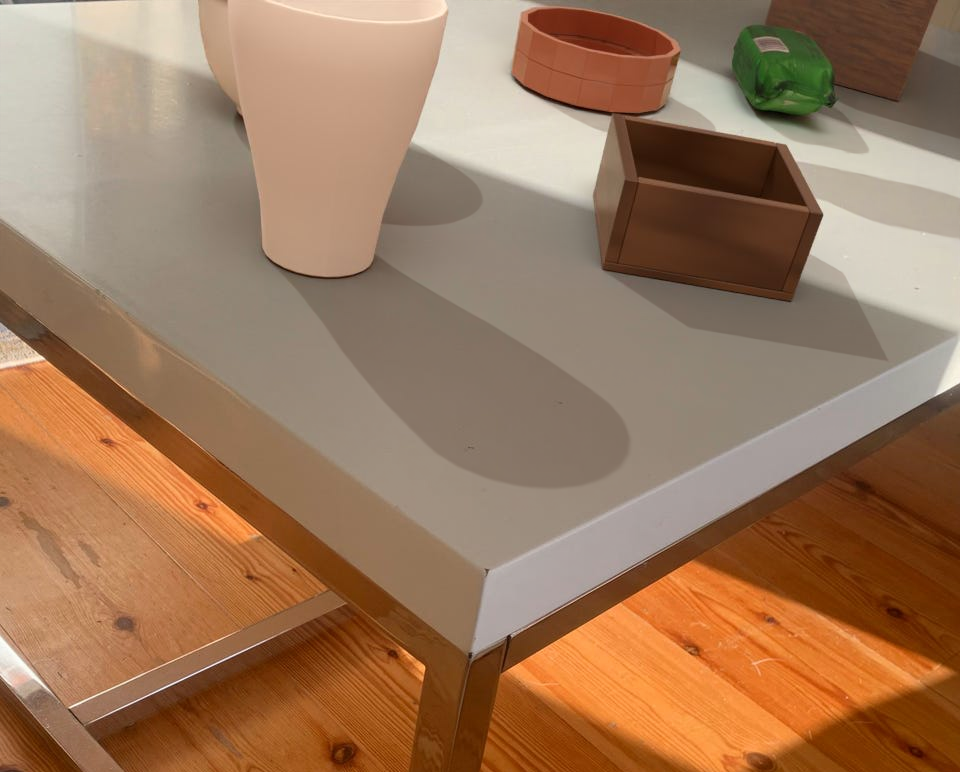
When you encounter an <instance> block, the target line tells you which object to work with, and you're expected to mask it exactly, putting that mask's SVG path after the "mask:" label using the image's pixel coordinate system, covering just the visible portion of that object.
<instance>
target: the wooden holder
mask: <svg viewBox="0 0 960 772" xmlns="http://www.w3.org/2000/svg"><path fill="white" fill-rule="evenodd" d="M600 159H601V160H600V163H599V168H598V173H597V176H596V180H595V185H594V189H593V193H592V196H593V198H592V199H593V205H594V206H593V207H594V213H595V220H596V229H597V236H598V242H599V243H598V245H599V252H600V253H599V254H600V260H601V267H602V270H605V271H611V272H615V273H616V272H617V273H621V274H629V275H634V276H640V277H647V278H652V279H658V280H664V281H670V282H674V283H675V282H676V283H680V284H681V283H682V284H687V285H693V286H700V287H704V288H705V287H706V288H711V289H717V290H723V291H729V292H734V293H741V294H744V295H745V294H746V295H752V296H757V297H764V298H769V299H775V300H781V301H787V302H792V301H793V299H794V296H795V293H796V290H797V288H798V285H799V282H800V280H801V277H802V275H803V272H804V270H805V266H806V263H807V261H808V258H809V256H810V253H811V250H812V247H813V245H814V243H815V239H816V237H817V234H818V231H819V228H820V226H821V224H822V221H823V218H824V212H823V211H822V209H821V207H820V205H819V203H818V200H817V199H816V197H815V195H814V193H813V192H812V190H811V188H810V187H809V184H808V182H807V179H805V177H804V175H803V173H802V171H801V169H800V167H799V166H798V163H797V162H796V160H795V158H794V156H793V154H792V152H791V151H790V149H789V147H788V145H787V144H785V143H780V142H775V141H771V140H764V139H761V138H760V139H759V138H754V137H749V136H742V135H737V134H731V133H726V132H720V131H715V130H709V129H704V128H699V127H692V126H688V125H682V124H678V123H677V124H676V123H671V122H666V121H660V120H654V119H649V118H644V117H639V116H632V115H627V114H621V113H617V112H612V113H611V117H610V120H609V125H608V129H607V134H606V137H605V142H604V147H603V150H602V155H601V158H600Z"/></svg>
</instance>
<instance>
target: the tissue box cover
mask: <svg viewBox="0 0 960 772" xmlns="http://www.w3.org/2000/svg"><path fill="white" fill-rule="evenodd" d="M938 1H939V0H771V2H770V4H769V8H768V11H767V14H766V18H765V21H764V24H763V25H765V26H771V27H778V28H786V29H792V30H796V31H799V32H802V33H804V34H806V35H808V36H809V37H811V38H812V40H813V41H814V42H815V43H816V44H817V46H818V47H819V48H820V49H821V51H822V52H823V54H824V55H825V57H826V58H827V59H828V60H829V62H830V63H831V65H832V67H833V71H834V76H835V84H834V85H838V86H841V87H845V88H849V89H853V90H856V91H859V92H860V91H861V92H864V93H866V94H871V95H873V96H876V97H877V96H878V97H881V98H885V99H889V100H893V101H895V102H899V101H900V99H901V96H902V93H903V91H904V89H905V86H906V83H907V81H908V78H909V76H910V73H911V70H912V68H913V67H914V66H913V65H914V63H915V61H916V57H917V56H918V52H919V51H920V48H921V45H922V43H923V40H924V37H925V35H926V32H927V30H928V26H929V25H930V22H931V19H932V17H933V15H934V11H935V9H936V8H937V7H936V6H937V4H938Z"/></svg>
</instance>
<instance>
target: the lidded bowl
mask: <svg viewBox="0 0 960 772" xmlns="http://www.w3.org/2000/svg"><path fill="white" fill-rule="evenodd" d="M197 2H198V3H197V4H198V20H199V28H200V36H201V41H202V46H203V51H204V54H205V58H206V60H207V63H208V66H209V69H210V72H211V73H212V75H213V77H214V78H215V80H216V82H217V84H218V85H219V86H220V88H221V90H222V91H223V92H224V93H225V94H226V96H228V98H229V99H230V100H231V101H232V102H233V103H234V104H235V105H236V106H235V107H236V111H237V113H238V114H239V115H240V116H241V117H242V118H243V114H242V110H241V106H240V101H239V95H238V88H237V82H236V75H235V69H234V62H233V55H232V49H231V42H230V36H229V20H228V0H198V1H197Z"/></svg>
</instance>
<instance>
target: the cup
mask: <svg viewBox="0 0 960 772" xmlns="http://www.w3.org/2000/svg"><path fill="white" fill-rule="evenodd" d="M448 16H449V7H448V5H447V2H446V0H228V20H229V36H230V42H231V49H232V55H233V62H234V69H235V75H236V82H237V88H238V95H239V101H240V106H241V110H242V114H243V117H242V118H243V122H244V127H245V130H246V135H247V140H248V145H249V148H250V153H251V158H252V165H253V170H254V176H255V181H256V186H257V191H258V192H257V193H258V198H259V210H260V226H261V227H260V228H261V242H262V243H261V244H262V250H263V252H264V254H265V256H266V257H267V258H269V260H271V261H272V262H273V263H275V264H276V265H278V266H279V267H282V268H283V269H286V270H288V271H290V272H293V273H296V274H300V275H305V276H309V277H317V278H343V277H349V276H350V277H351V276H353V275H356V274H360V273H361V272H364V271H365V270H366V269H367V268H369V267H370V266H371V265H372V263H373V261H374V257H375V253H376V248H377V243H378V240H379V235H380V231H381V225H382V222H383V218H384V214H385V211H386V209H387V205H388V202H389V199H390V198H391V197H390V196H391V194H392V191H393V187H394V185H395V182H396V179H397V176H398V174H399V170H400V168H401V166H402V163H403V162H404V158H405V156H406V154H407V152H408V149H409V146H410V144H411V142H412V139H413V137H414V134H415V132H416V130H417V127H418V125H419V122H420V119H421V115H422V112H423V109H424V106H425V104H426V100H427V97H428V95H429V92H430V91H429V90H430V88H431V85H432V82H433V79H434V75H435V72H436V69H437V67H438V63H439V58H440V54H441V49H442V44H443V40H444V35H445V30H446V25H447V20H448Z"/></svg>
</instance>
